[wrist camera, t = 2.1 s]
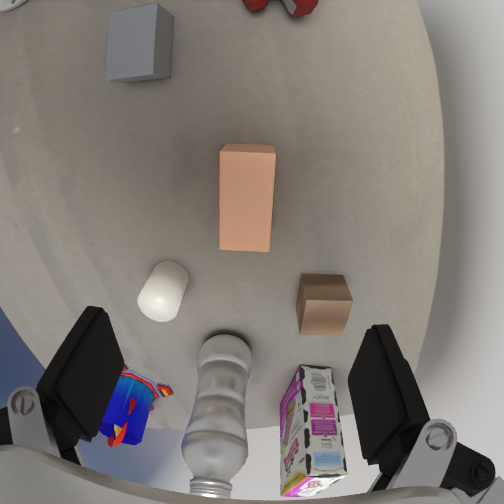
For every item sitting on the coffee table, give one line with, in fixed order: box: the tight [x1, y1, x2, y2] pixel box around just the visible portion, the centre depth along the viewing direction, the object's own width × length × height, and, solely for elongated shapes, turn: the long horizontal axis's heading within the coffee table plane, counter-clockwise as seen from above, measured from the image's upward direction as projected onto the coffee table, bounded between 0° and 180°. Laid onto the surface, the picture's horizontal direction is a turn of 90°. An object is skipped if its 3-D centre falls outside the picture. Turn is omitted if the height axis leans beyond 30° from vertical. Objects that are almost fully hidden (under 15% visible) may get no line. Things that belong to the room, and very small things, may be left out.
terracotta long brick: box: [219, 143, 276, 252], centre depth 24 cm, size 8×4×4 cm, turn 178°
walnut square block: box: [296, 274, 353, 335], centre depth 29 cm, size 4×4×4 cm
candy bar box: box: [280, 365, 347, 497], centre depth 33 cm, size 11×5×16 cm, turn 170°
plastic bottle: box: [181, 334, 252, 499], centre depth 27 cm, size 6×7×20 cm
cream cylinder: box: [138, 261, 188, 322], centre depth 29 cm, size 4×4×5 cm
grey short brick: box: [105, 3, 174, 83], centre depth 18 cm, size 6×4×4 cm, turn 178°
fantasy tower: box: [99, 363, 174, 447], centre depth 37 cm, size 12×12×12 cm
